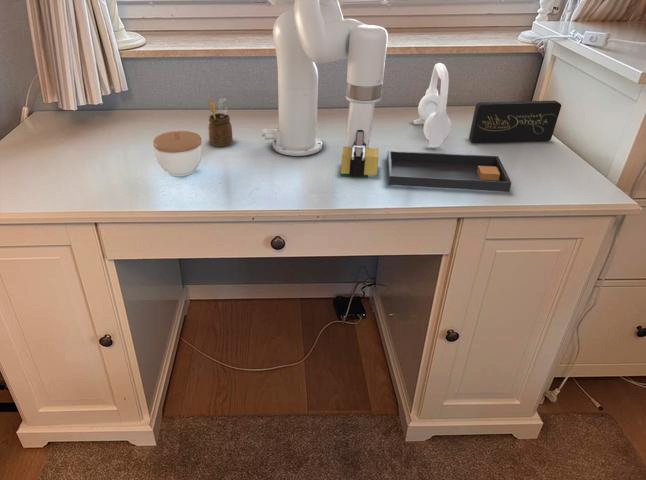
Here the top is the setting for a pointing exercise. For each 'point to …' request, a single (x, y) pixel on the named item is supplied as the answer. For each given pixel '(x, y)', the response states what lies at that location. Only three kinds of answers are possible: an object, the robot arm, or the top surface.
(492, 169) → the orange square block
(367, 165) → the sponge
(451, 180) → the black shallow rectangular tray
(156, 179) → the top surface
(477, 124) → the nameplate
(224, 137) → the utensil holder
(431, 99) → the headset
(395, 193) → the top surface
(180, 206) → the top surface
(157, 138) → the trinket box
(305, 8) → the robot arm
